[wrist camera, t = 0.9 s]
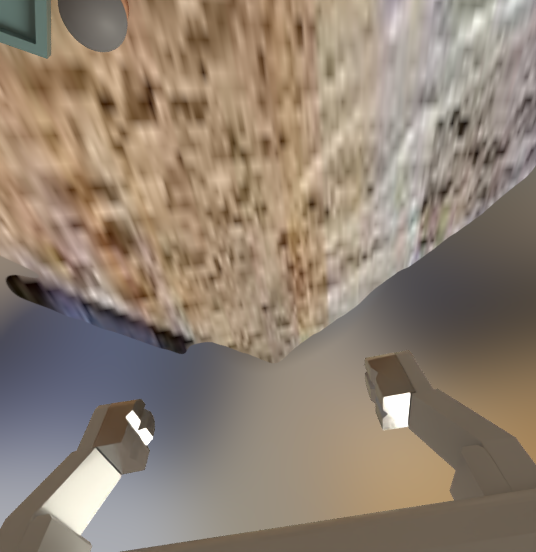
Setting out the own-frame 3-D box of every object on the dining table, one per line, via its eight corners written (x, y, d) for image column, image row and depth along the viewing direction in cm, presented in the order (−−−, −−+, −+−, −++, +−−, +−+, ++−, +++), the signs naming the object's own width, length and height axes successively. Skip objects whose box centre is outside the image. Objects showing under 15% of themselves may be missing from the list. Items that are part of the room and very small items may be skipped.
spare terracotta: (76, 19, 35) (57, 36, 27) (78, -41, 32) (58, -42, 24) (126, 40, 38) (123, 61, 30) (132, -14, 35) (130, -7, 27)
